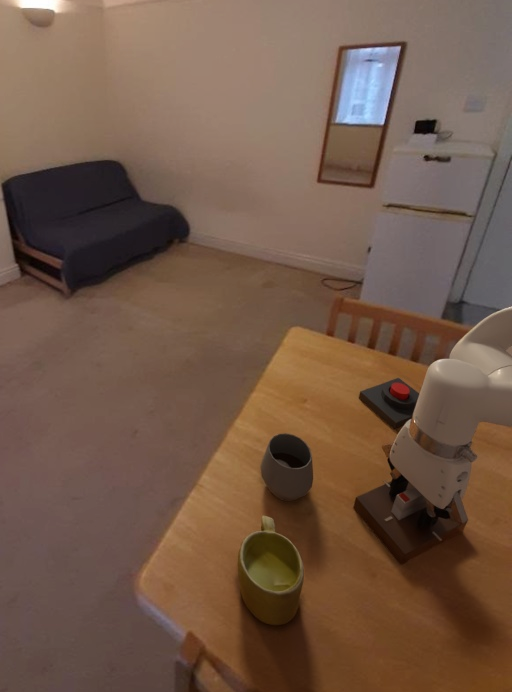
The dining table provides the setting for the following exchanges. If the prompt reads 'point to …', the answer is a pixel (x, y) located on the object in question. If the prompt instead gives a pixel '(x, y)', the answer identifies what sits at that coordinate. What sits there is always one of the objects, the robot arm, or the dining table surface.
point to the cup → (287, 467)
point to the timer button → (399, 391)
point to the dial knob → (408, 503)
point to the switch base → (402, 525)
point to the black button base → (390, 403)
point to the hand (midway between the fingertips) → (410, 507)
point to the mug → (270, 575)
